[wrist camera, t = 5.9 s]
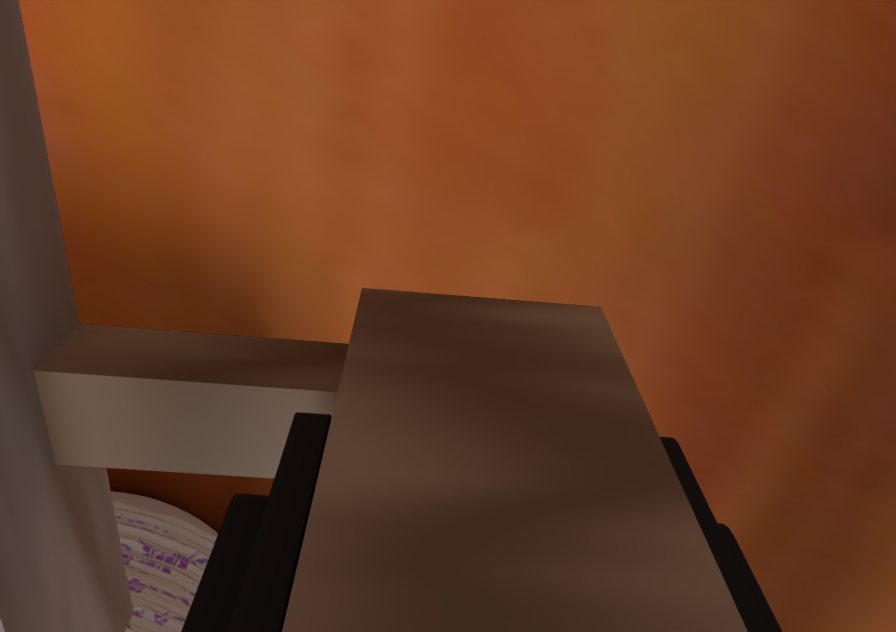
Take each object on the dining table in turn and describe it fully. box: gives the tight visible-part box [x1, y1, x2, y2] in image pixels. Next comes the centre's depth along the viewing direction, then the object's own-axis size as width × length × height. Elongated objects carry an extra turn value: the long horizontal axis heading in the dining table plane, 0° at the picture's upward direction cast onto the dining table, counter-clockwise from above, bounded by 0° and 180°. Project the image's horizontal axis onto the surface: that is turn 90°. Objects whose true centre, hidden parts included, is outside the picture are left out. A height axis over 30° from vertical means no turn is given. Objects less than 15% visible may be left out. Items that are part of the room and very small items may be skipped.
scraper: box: [0, 0, 748, 632], centre depth 9 cm, size 11×14×10 cm
